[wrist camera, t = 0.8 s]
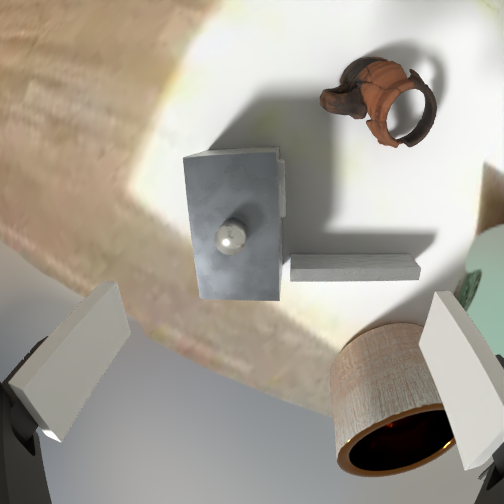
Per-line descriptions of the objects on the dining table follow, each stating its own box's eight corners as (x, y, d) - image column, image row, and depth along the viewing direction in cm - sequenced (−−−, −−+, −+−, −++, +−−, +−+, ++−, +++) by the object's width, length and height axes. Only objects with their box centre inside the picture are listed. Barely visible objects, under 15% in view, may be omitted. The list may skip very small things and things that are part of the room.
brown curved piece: (395, 50, 26) (446, 70, 20) (395, 120, 33) (437, 152, 27) (299, 57, 25) (339, 76, 20) (308, 137, 32) (342, 174, 27)
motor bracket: (207, 150, 33) (174, 160, 24) (418, 152, 29) (461, 163, 20) (217, 265, 38) (194, 309, 29) (408, 265, 35) (437, 308, 26)
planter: (363, 413, 46) (373, 487, 32) (306, 362, 43) (305, 452, 28) (450, 362, 40) (482, 433, 26) (409, 295, 37) (453, 378, 22)
